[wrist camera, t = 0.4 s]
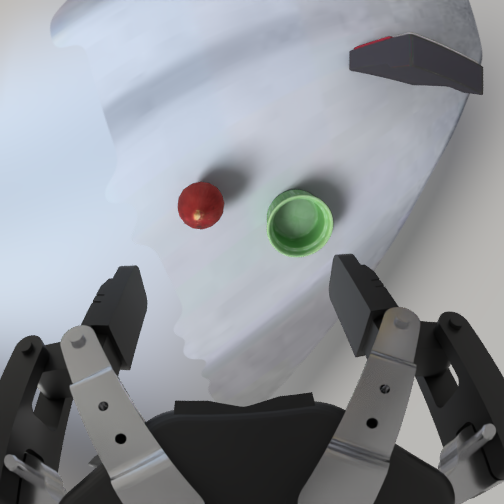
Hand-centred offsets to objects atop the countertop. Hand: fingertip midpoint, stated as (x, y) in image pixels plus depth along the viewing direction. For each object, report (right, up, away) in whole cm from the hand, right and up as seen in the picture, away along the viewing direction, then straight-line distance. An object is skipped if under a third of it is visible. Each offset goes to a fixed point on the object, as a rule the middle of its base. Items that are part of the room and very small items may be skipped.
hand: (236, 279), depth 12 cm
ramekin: (+7, +6, +30) cm, 31 cm away
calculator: (+19, +27, +19) cm, 38 cm away
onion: (-6, +9, +27) cm, 29 cm away
